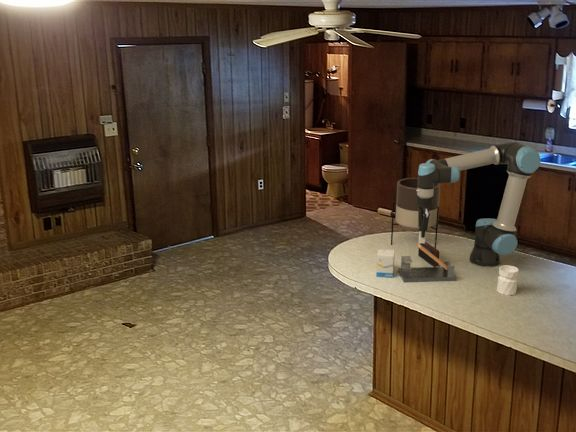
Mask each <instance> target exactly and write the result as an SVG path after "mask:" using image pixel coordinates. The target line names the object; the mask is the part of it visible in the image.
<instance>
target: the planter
mask: <svg viewBox="0 0 576 432" xmlns="http://www.w3.org/2000/svg"><path fill="white" fill-rule="evenodd" d="M417 187H418V177H406V178H402V179H399V180H398V181H397V183H396V204H395V202H392V213H391V215H392V216H391V235H390V245H391V246H392V245H393V241H394V239H393V238H394V237H393V236H394V234H393V233H394V226H399V225H400V226H401V227H405V228H409V229H417V230H418V229H419V227H418V206H420V205H418V204H417V203H416V201H417V196H418V195H417V191H416V190H417V189H418V188H417ZM440 196H441V183H438V184H434V192H433V196H432V197H433V203H432V205H430V206H428V209H429V213H428V214H430V217H429V222H428V229H432V230H435V235H434V237H435V239H434V248H436V249H437V243H438V240H437V239H438V227H439V225H438V224H439V212H440V210H439V209H440V198H441V197H440ZM394 213H395V214H394ZM394 215H395V219H394ZM394 220H395V222H396V223H394Z"/></svg>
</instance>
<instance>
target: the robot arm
mask: <svg viewBox="0 0 576 432" xmlns="http://www.w3.org/2000/svg"><path fill="white" fill-rule="evenodd" d="M492 164H494V165H496V166H497V165H507V168H506V172H507V174H508V178H507V181H506V185H505V188H504V192H503V195H502V196H503V197H502V200H501V204H500V207H499V210H498V215H497V218H479V219H477V220H476V223H475V232H474V245H473V248H472V249H471V250H472V251H471V252H470V254H469V262H470V263H472V264H473V263H474V264H473V265H475V264H476V265H475V266H479V267H485V266H490V267H491V266H492V267H496V266H499V264H500V263H501V258H500V256H506V255H510V254H511V253H512V252H514V251H515V250H516V249H517V246H518V239H517V237H516V233H517V228H516V226H515V225H516V221H517V218H518V214H519V210H520V206H521V204H522V200H523V195H524V192H525V189H526V184H527V181H528V179H529V178H531V177H532V175H533V173H534V172H536V170H537V171H538V169H539V167H540V166H541V156H540V153H539V151H537V150H536V149H534V148H533V147H531V146H528V145H525V144H523V143H521V142H520V143H519V142H516V141H511V142H509V141H508V142H504V143H499V144H494V145H491V146H490V147H489V148H486V149H482V150H477V151H473V152H469V153H468V152H467V153H464V154H461V155H455V156H451V157H448V158H447V157H446V158H443V159H436V158H435V159H434V158H431V159H428V160H426V162H424V163H419V165H418V170H417V178H418V187H417V188H418V189H417V190H416V191H417V195H418V196H417V201H416V203H417V204H418V205H420V206H418V227H419V230H418V244H419V243H425V242H426V241H425V240H426V234H427V233H426V232H427V231H428V229H429V228H428V222H429V217H430V214H428V213H429V209H428V206H430V205H432V203H433V197H432V196H433V192H434V184H438V183H440V184H453V183H454V184H455V183H457V182H458V181H459V180H460V174H461V173H460V172H461V171H465V170H470V169H475V168H479V167H484V166H489V165H492ZM490 267H489V268H490Z"/></svg>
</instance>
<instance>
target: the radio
mask: <svg viewBox="0 0 576 432" xmlns="http://www.w3.org/2000/svg"><path fill="white" fill-rule="evenodd" d="M428 242H432V240H430V239H429V240H426V239H425V243H419V242H418V244H420V245H422V246H423V247H424V248H425V249H427V250H428V251H429V252H430V253H432V254H433V255H434V256H435V257H437V258H438V259H439V260H440V253H441V251H440V250H439V249H438V248H437V247H436V248H435V246H433V245H431V244H430V243H428ZM417 255H418V257H419V258H420V259H422V260H424V261H425V262H426V263H428V264H429V265H430V266H431V267H440V264H439V263H437V262H436V261H435V260H434V259H432V258H431V257H430V256H429V255H427V254H426V253H425V252H424V251H422V250H421V249H420V248H419V247H418V254H417Z"/></svg>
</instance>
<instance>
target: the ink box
mask: <svg viewBox="0 0 576 432" xmlns="http://www.w3.org/2000/svg"><path fill="white" fill-rule="evenodd" d="M395 252H396V251H395V250H393V249H380V248H379V249H378V250H377V254H376V275H375V276H376V277H378V278H391V279H393V278H394V271H395V269H394V268H395V258H396V257H395V254H396V253H395Z"/></svg>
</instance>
